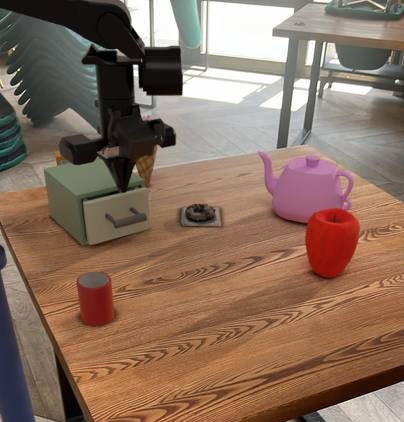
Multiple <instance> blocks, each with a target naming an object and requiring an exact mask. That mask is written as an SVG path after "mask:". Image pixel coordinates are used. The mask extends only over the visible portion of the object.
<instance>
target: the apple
mask: <svg viewBox="0 0 404 422" xmlns="http://www.w3.org/2000/svg"><path fill="white" fill-rule="evenodd" d="M306 224H307V225H306V229H305V235H304V244H305V250H306V256H307V259H308V263H309V266H310V268H311V270H312V271H313V272H314V273H315V274H317V275H318V276H321V277H323V278H328V279H329V278H335V277H338V276H339V275H341V274H342V272H343V271H344V270H345V269H346V268H347V267H348V265H349V263H351V260H352V258H353V257H354V255H355V253H356V249H357V247H358V244H359V241H360V239H359V238H360V232H361V225H360V221H359V219H358V218H357V217H356V216H355V215H353V214H352V213H351V212H350V211H349V210H342V209H339V208H331V209H325V210H321V211H318V212H314V213H313V215H312V216H311V217H310V219H309V220H308V223H306Z"/></svg>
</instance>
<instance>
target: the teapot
mask: <svg viewBox="0 0 404 422" xmlns="http://www.w3.org/2000/svg"><path fill="white" fill-rule="evenodd" d="M256 154H257V155H258V156H259V157H260V158H261V160H262V163H263V167H264V172H263V173H264V175H263V178H264V186H265V189H266V190H267V192H268V193H269V194H270V196H272V198H271V205H272V208H273V210H274V212H275V214H277V216H278V217H281V218H283V219H285V220H287V221H294V222H297V223H298V222H299V223H303V224H304V223H305V224H308V220H309V219H310V217H311V216H312V215H313V213H314V212H318V211H321V210H325V209H331V208H339V209H342V210H346V211H349V210H351V208H352V206H353V203H352V202H353V201H352V200H351V199H350V198H348V196H350V194H351V192H352V190H353V188H354V184H355V179H354V176H353V175H352V174H351V173H350V172H349V171H347V170H339V169H338V165H337V164H336V163H335V162H333V161H331V160H327V159H322V157H321V156H320V155H318V154H311V153H310V154H306V155H305V156H304V157H300V156H299V157H293V158H291V159H290V160H289V161H288V162H287V164H286V165H285V167H284V168H283V170H282V172H281V174H280V175H279V177H278V178H277V176H276V175H275V174H274V170H273V169H274V168H273V161H272V158H271V157H270V156H269V155H268V154H267V153H264V152H262V151H259V150H257V151H256ZM341 177H345V178H346V179H347V180H348V185H347V188H346V190H345V191H344V193H343V187H342V186H343V185H342V180H341ZM345 203H347V205H346V204H345Z"/></svg>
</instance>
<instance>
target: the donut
mask: <svg viewBox="0 0 404 422" xmlns="http://www.w3.org/2000/svg"><path fill="white" fill-rule="evenodd" d="M180 218H181V219H180V222H181V225H182V227H222V225H221V210H220V207H219V206H212V205H211V204H208V203H203V202H202V203H192V204H190V205H188V206H182V208H181V217H180Z"/></svg>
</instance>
